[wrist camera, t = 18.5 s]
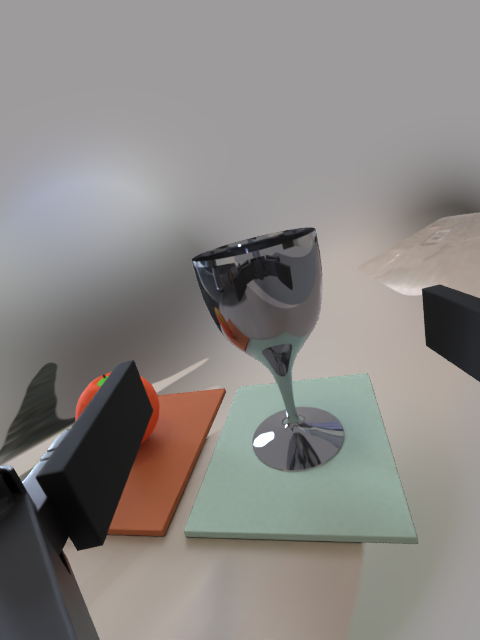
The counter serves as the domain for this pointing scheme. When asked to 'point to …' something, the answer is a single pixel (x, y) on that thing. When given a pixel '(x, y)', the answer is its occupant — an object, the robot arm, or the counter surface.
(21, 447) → the counter surface
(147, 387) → the clementine
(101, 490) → the robot arm
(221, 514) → the glass mat
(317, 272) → the wine glass
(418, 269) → the counter surface
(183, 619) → the counter surface
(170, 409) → the fruit mat
